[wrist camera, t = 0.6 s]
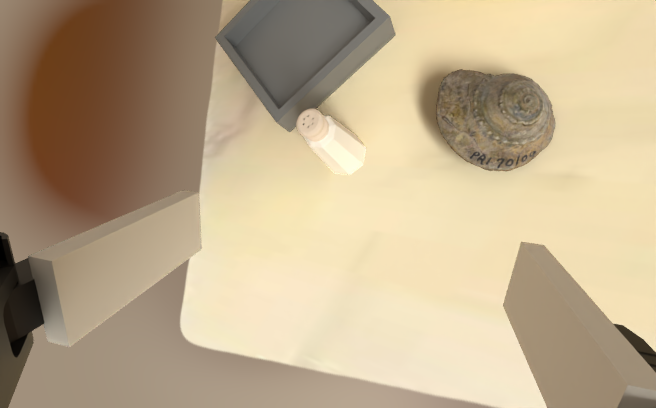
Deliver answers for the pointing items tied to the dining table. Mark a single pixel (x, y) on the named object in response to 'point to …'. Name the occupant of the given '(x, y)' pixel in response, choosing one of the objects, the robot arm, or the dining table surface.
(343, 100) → the dining table surface
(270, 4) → the parts tray
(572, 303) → the robot arm
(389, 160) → the dining table surface
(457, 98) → the fossilized seashell
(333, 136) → the salt shaker
